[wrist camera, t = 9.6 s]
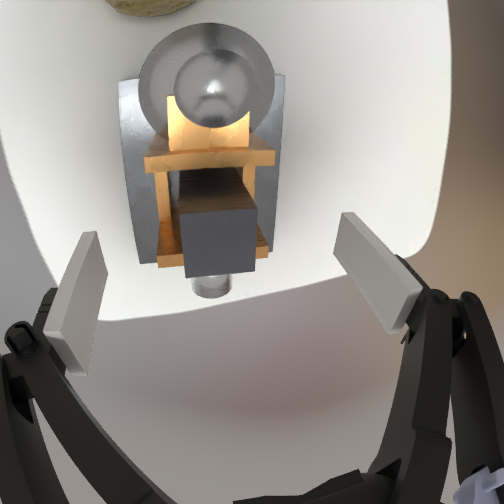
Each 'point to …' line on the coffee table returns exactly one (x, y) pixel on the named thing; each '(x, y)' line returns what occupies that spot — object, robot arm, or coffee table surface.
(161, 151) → the multicoloured piece
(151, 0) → the decorative object
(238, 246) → the dark gray rectangular block
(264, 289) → the coffee table surface
